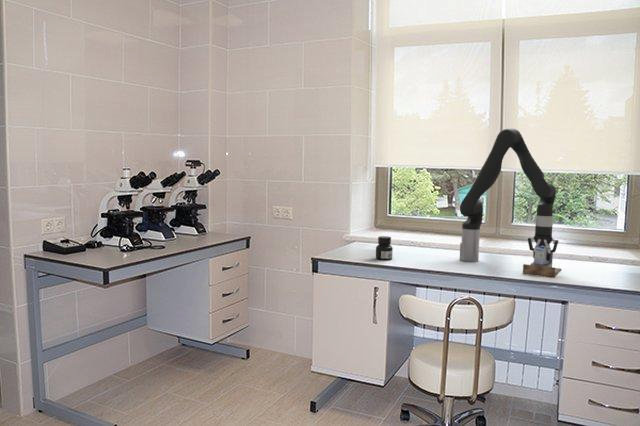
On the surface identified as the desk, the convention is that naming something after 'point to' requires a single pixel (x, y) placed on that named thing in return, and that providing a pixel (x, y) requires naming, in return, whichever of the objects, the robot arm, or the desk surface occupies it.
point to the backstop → (540, 270)
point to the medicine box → (541, 255)
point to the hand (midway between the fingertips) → (541, 259)
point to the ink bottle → (384, 248)
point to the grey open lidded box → (545, 265)
